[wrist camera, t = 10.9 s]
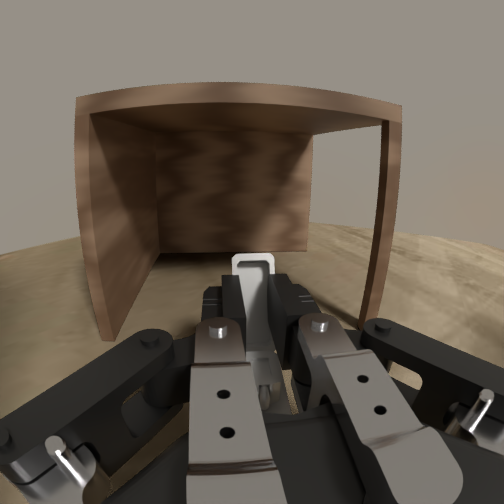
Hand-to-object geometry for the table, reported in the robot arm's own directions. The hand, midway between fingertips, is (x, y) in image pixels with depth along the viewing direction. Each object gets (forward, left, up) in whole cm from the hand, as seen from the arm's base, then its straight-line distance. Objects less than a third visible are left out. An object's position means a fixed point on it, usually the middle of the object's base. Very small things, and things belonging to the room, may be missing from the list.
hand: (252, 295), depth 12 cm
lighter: (0, -2, -6) cm, 7 cm away
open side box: (0, +15, -6) cm, 16 cm away
